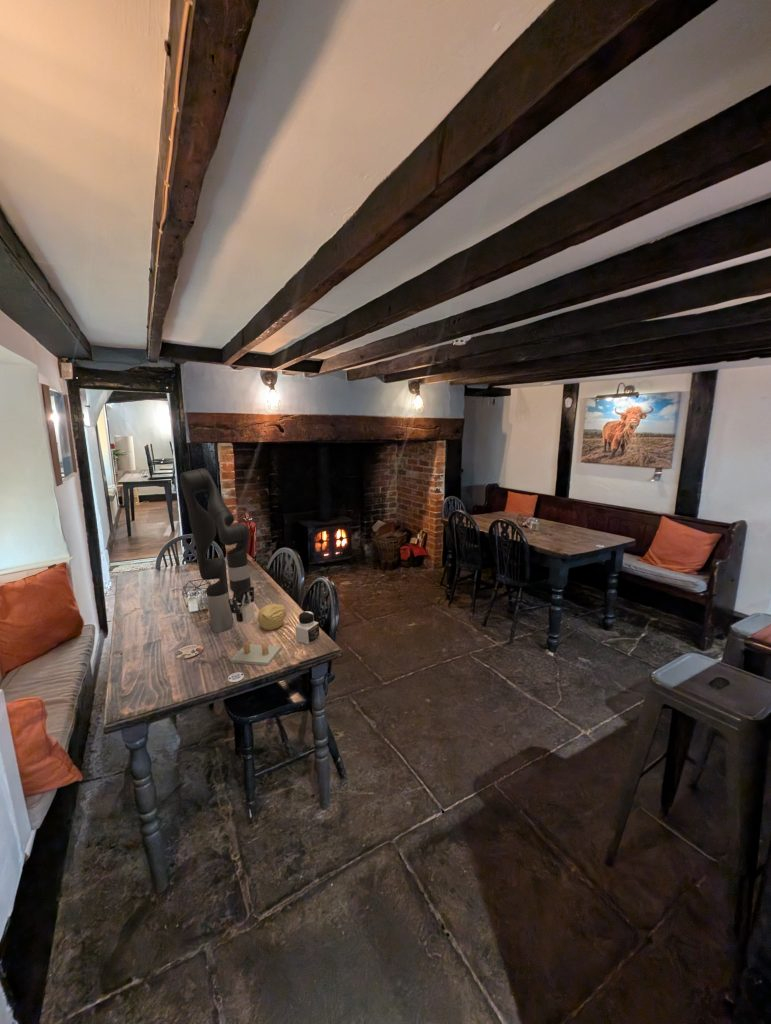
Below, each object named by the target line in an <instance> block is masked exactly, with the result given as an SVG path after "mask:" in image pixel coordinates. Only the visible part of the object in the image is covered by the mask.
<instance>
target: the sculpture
mask: <svg viewBox="0 0 771 1024" xmlns="http://www.w3.org/2000/svg"><path fill="white" fill-rule="evenodd" d="M286 610H287V609H286V608H285V606H284V605H283V604H279V603H275V602H274V603H271V604H266V605H264V606H263V607H261V608H260V610H259V612H258V613H257V621H258V624H259V626H260V627H261V628H262V629H264V630H267V631H273V630H276V629H279V628H280V627H281V626H282V625H283V623H284V620H285V618H286V616H287V611H286Z"/></svg>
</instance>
